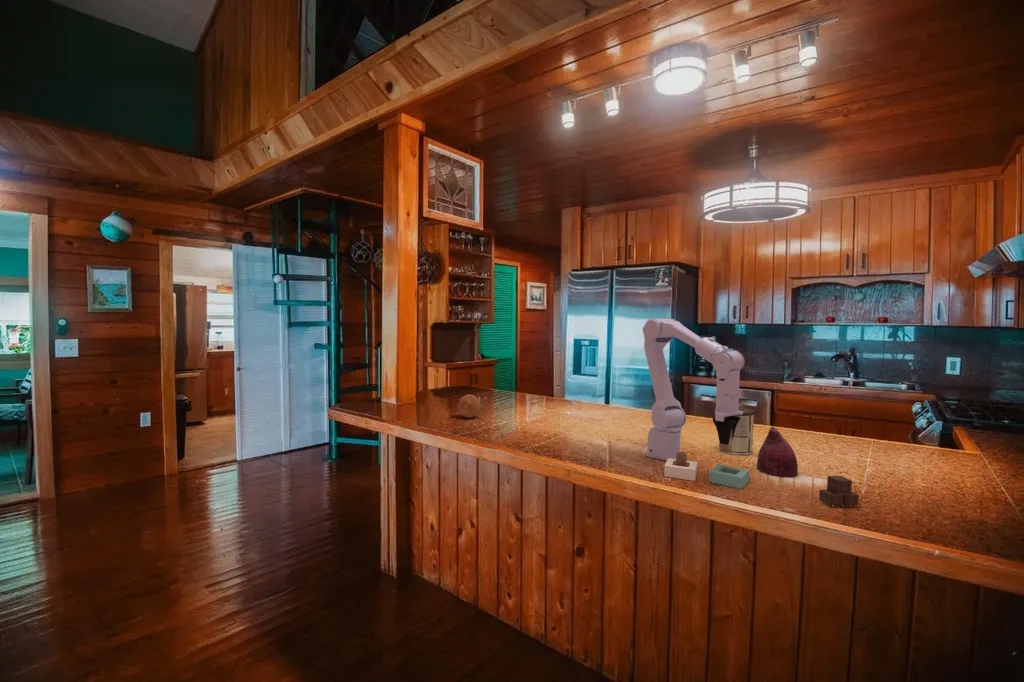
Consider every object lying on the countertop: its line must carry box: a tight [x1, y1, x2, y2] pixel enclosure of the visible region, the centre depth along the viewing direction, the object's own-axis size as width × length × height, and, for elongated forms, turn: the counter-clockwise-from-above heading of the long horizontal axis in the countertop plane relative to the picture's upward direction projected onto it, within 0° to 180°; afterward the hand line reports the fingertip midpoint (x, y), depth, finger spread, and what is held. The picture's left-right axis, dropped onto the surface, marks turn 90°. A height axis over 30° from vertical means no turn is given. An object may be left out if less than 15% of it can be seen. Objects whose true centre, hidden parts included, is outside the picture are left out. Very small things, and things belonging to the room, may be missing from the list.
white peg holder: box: [663, 458, 698, 482], centre depth 132 cm, size 8×8×3 cm
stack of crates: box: [818, 475, 860, 507], centre depth 114 cm, size 15×15×7 cm
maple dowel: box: [719, 431, 732, 453], centre depth 131 cm, size 3×3×8 cm
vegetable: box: [756, 425, 799, 478], centre depth 135 cm, size 10×10×15 cm
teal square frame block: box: [708, 463, 750, 490], centre depth 127 cm, size 8×8×3 cm
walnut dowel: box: [676, 451, 688, 467], centre depth 132 cm, size 3×3×6 cm
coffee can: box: [718, 406, 755, 456], centre depth 156 cm, size 10×10×14 cm
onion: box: [456, 393, 482, 419], centre depth 201 cm, size 10×10×10 cm
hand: (725, 442), depth 131 cm, fingers closed on maple dowel, 3 cm apart
